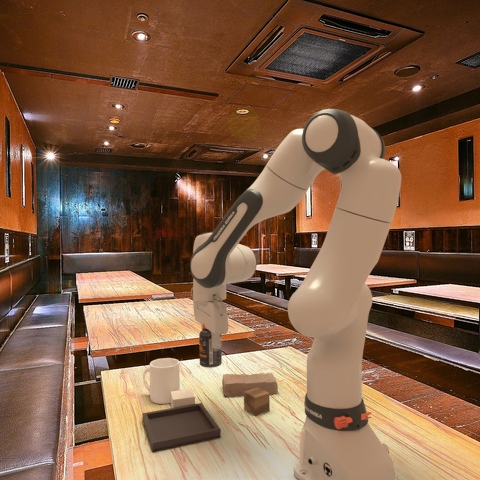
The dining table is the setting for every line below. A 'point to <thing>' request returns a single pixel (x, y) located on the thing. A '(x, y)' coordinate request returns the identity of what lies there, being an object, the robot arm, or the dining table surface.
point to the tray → (179, 426)
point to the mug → (163, 379)
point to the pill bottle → (209, 350)
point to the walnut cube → (256, 401)
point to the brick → (248, 383)
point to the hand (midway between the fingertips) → (210, 344)
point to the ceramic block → (182, 398)
